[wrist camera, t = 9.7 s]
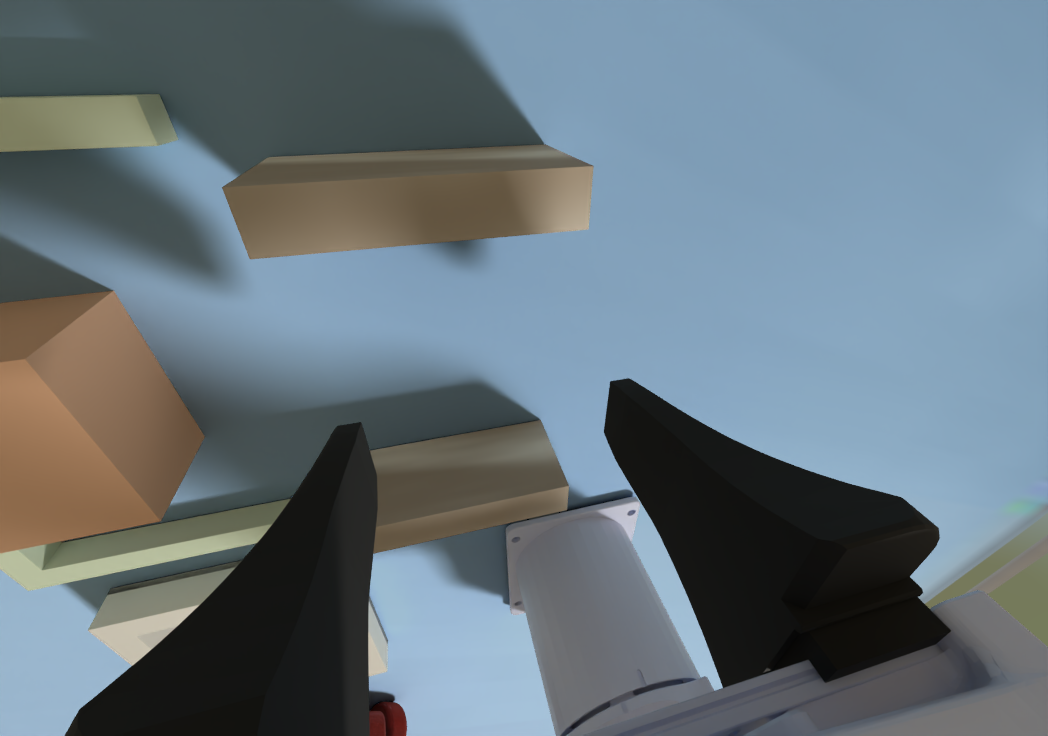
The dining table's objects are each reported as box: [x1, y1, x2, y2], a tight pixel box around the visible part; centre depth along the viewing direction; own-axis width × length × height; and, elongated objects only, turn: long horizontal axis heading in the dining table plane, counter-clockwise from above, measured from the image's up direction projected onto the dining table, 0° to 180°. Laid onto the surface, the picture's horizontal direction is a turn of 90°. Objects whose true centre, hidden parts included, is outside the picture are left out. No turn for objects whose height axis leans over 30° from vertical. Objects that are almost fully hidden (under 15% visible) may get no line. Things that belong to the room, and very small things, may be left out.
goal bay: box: [0, 94, 290, 591], centre depth 14 cm, size 16×11×1 cm
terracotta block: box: [0, 291, 205, 553], centre depth 12 cm, size 6×6×4 cm
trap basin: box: [88, 561, 388, 676], centre depth 22 cm, size 11×10×2 cm
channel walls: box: [222, 144, 593, 554], centre depth 15 cm, size 13×8×4 cm, turn 1°
